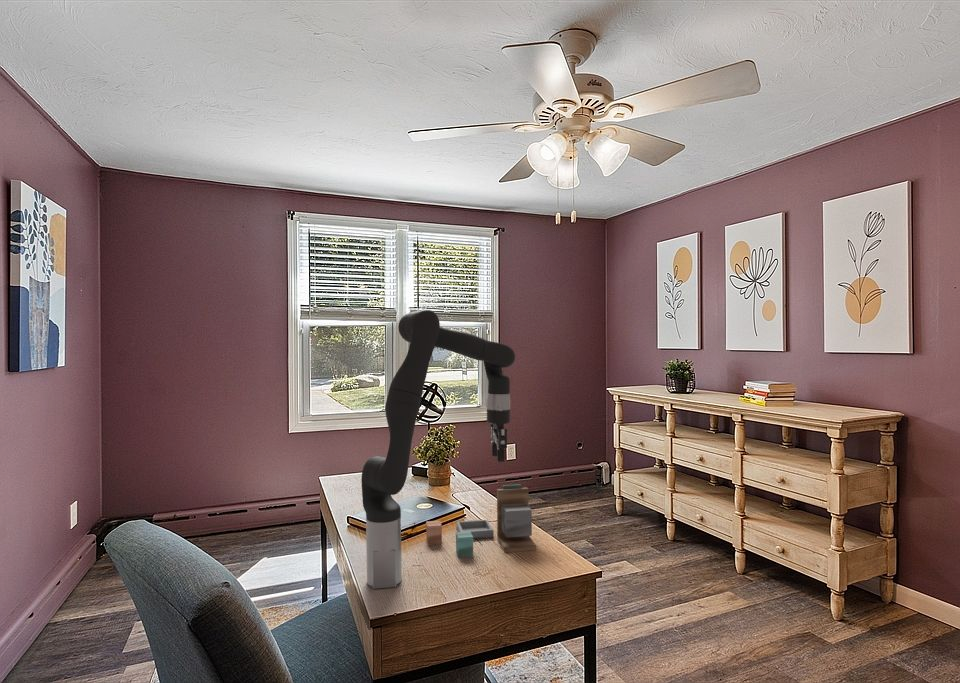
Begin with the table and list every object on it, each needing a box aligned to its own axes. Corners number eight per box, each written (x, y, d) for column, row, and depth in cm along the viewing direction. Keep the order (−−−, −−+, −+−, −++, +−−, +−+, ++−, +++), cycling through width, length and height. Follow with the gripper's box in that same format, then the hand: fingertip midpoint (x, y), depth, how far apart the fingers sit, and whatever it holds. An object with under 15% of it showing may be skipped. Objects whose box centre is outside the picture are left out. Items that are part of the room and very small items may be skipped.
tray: (493, 537, 185) (493, 530, 185) (461, 540, 183) (461, 532, 183) (487, 526, 195) (487, 519, 195) (456, 528, 193) (456, 521, 193)
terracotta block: (441, 544, 180) (441, 525, 180) (427, 545, 179) (427, 526, 179) (440, 539, 184) (440, 520, 184) (426, 540, 183) (426, 521, 183)
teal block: (473, 556, 169) (473, 536, 169) (458, 557, 169) (458, 537, 169) (470, 551, 174) (470, 531, 174) (456, 552, 173) (455, 532, 173)
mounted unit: (536, 549, 174) (535, 492, 174) (504, 552, 172) (503, 494, 172) (527, 537, 185) (526, 483, 184) (497, 539, 183) (496, 485, 183)
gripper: (483, 405, 188) (482, 454, 188) (491, 410, 174) (490, 463, 174) (505, 405, 189) (504, 454, 189) (515, 410, 175) (514, 463, 175)
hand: (498, 458), depth 182 cm, fingers open, 8 cm apart
